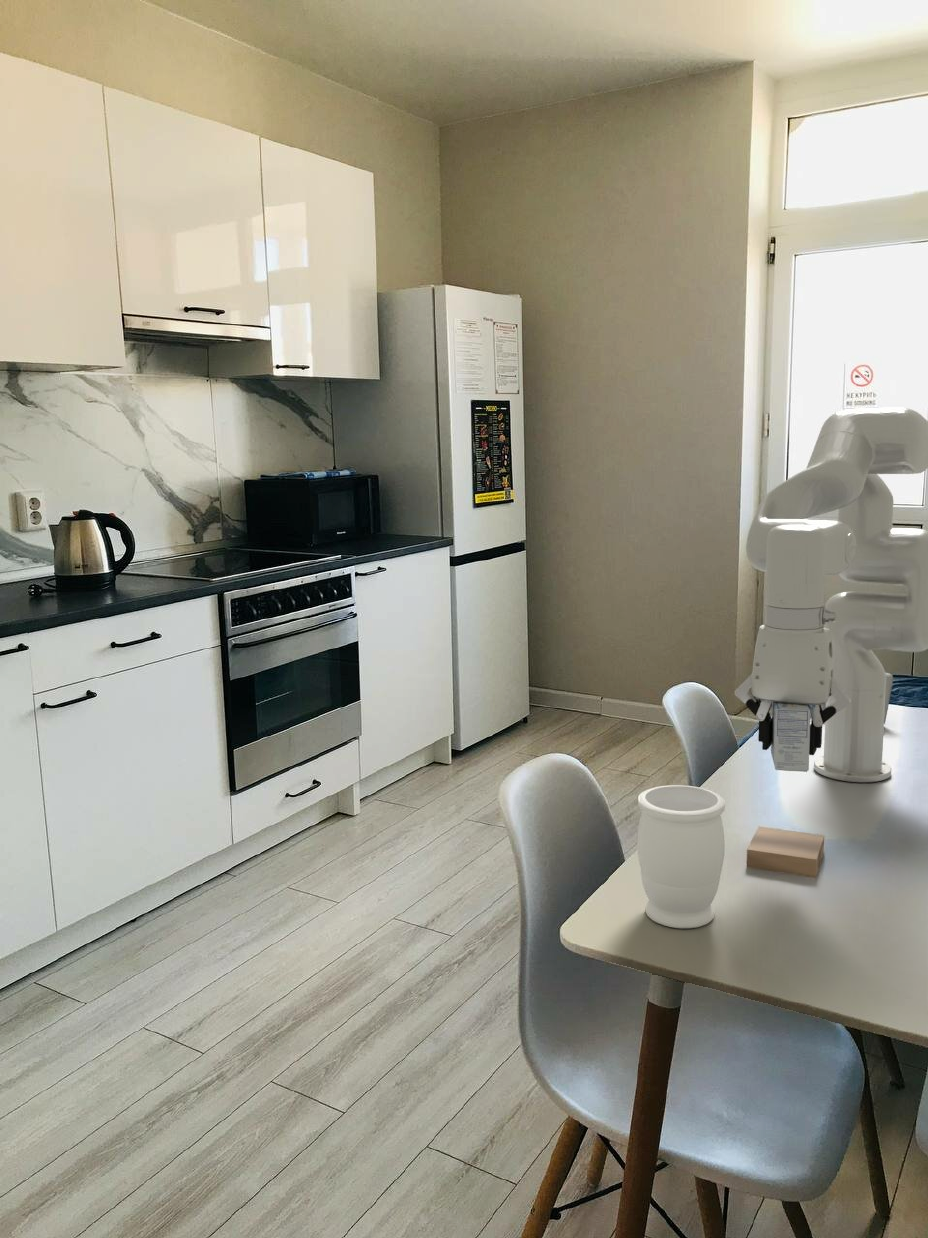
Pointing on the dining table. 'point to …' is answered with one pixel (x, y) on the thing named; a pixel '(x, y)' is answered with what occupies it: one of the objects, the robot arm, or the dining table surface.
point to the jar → (680, 853)
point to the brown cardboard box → (786, 851)
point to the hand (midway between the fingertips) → (789, 748)
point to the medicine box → (790, 736)
